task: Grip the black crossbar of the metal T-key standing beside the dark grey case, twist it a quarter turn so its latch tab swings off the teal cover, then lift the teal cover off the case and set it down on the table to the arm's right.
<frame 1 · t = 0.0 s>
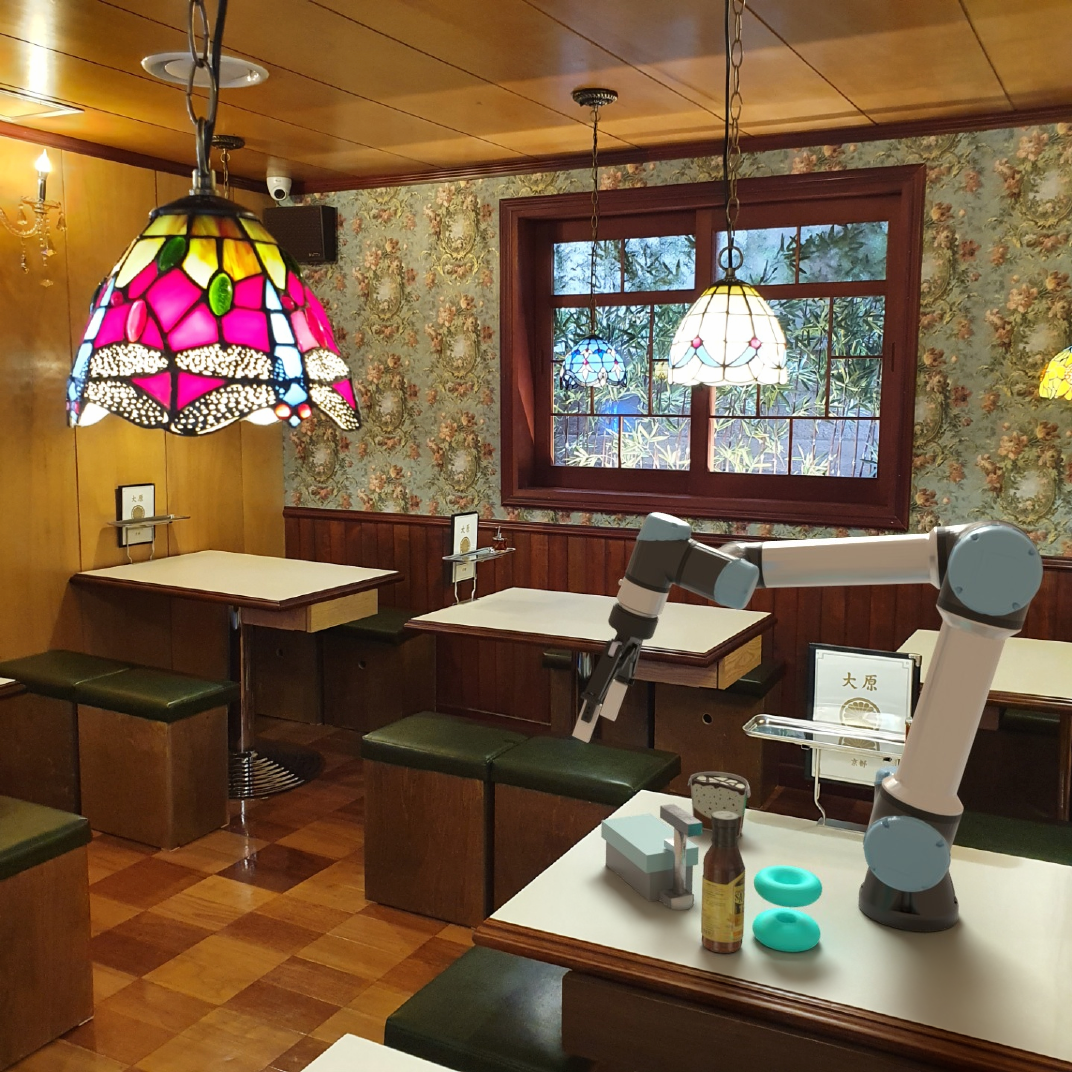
hand: (594, 727, 177), 28 cm above the table, tool tilted 20°, fingers open, 13 cm apart
cover: (648, 850, 185), point 5 cm above the table, touching case
food container: (722, 828, 210), on the table
case: (647, 878, 186), on the table
sauce bottle: (721, 946, 162), on the table
key: (679, 853, 175), point 8 cm above the table, hinge at 0.0°
donuts: (785, 940, 164), on the table
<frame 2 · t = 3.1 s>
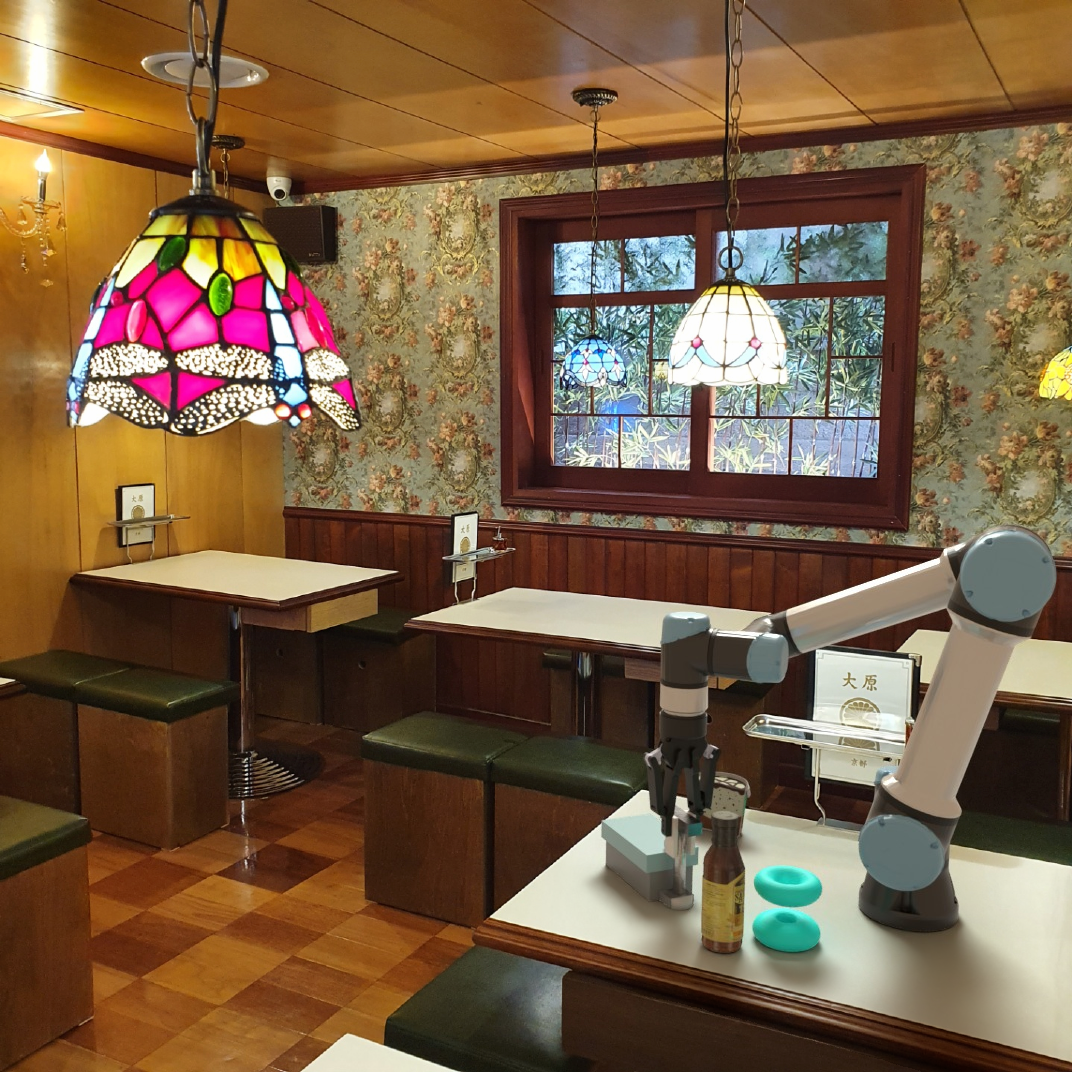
hand: (679, 853, 175), 9 cm above the table, tool pointing down, fingers closed on key, 2 cm apart
key: (679, 853, 175), point 8 cm above the table, hinge at 0.0°, touching gripper
everything else where it was.
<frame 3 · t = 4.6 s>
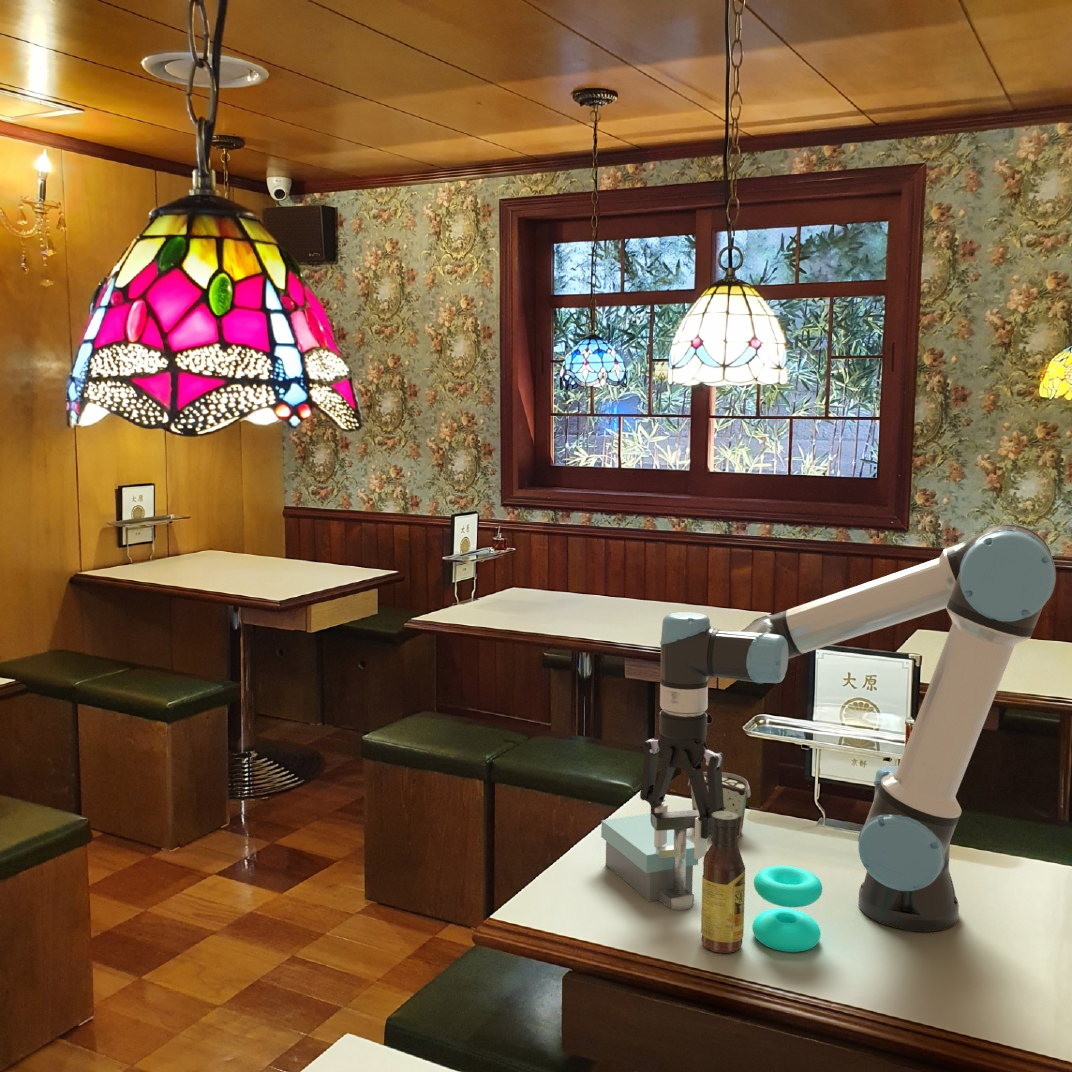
hand: (680, 850, 175), 9 cm above the table, tool pointing down, fingers open, 7 cm apart
key: (679, 853, 175), point 8 cm above the table, hinge at 80.4°
everything else where it was.
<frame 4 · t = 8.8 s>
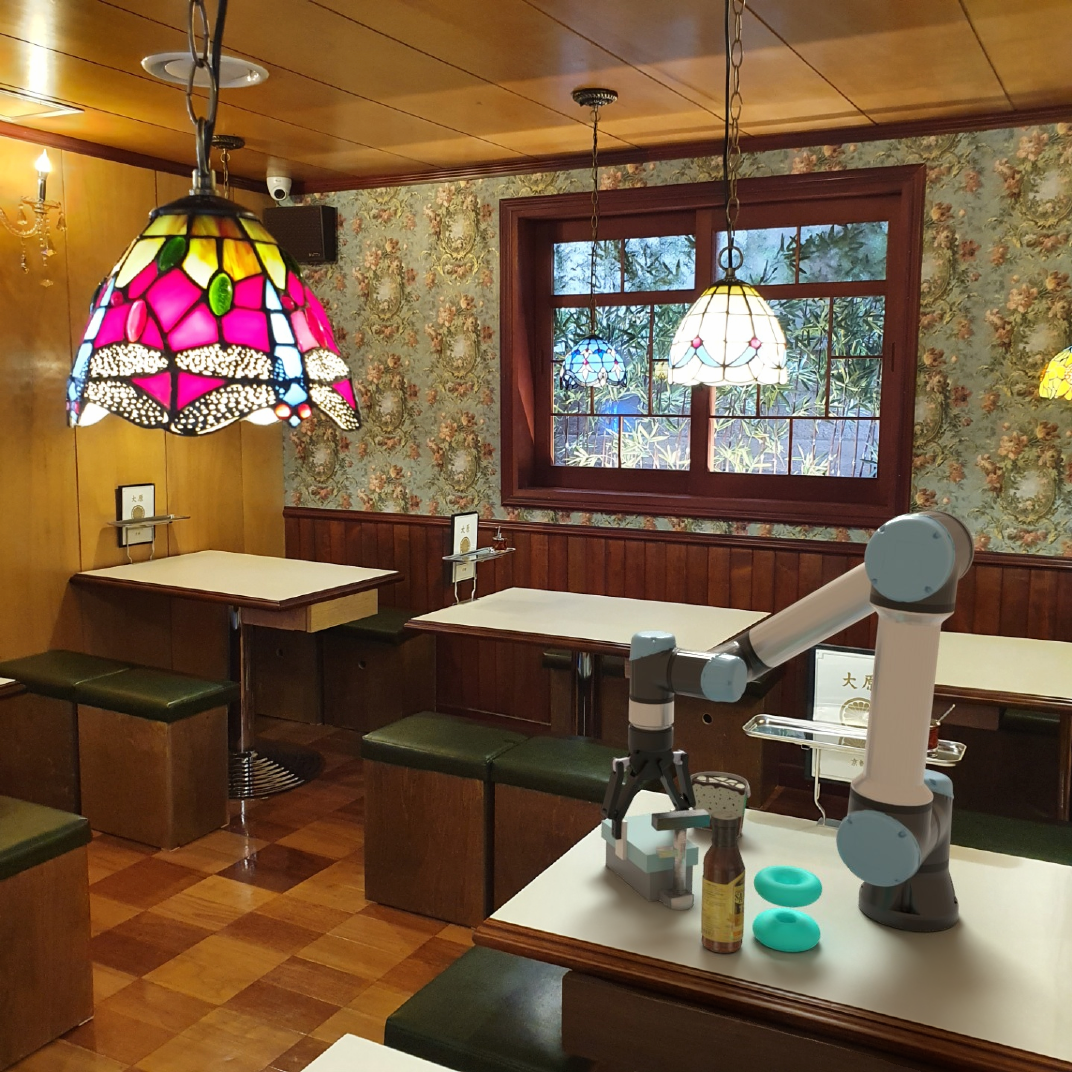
hand: (648, 852, 185), 5 cm above the table, tool pointing down, fingers closed on cover, 10 cm apart
cover: (648, 850, 185), point 5 cm above the table, touching case, gripper
key: (679, 853, 175), point 8 cm above the table, hinge at 82.3°
everything else where it was.
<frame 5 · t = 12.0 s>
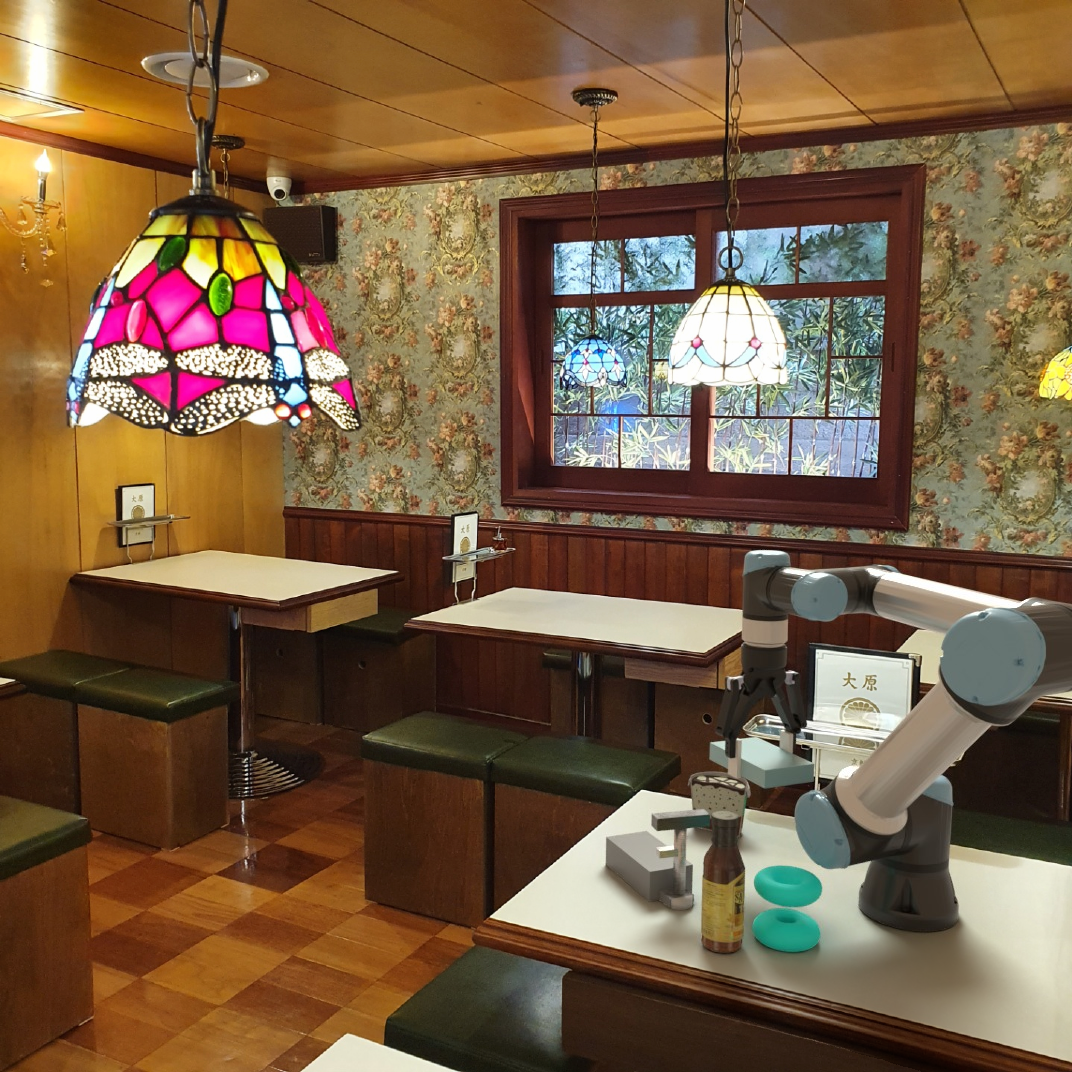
hand: (760, 772, 185), 18 cm above the table, tool pointing down, fingers closed on cover, 10 cm apart
cover: (760, 770, 185), point 19 cm above the table, touching gripper
everything else where it was.
when the fingers open (2 cm above the table, at t = 15.0 s): cover drops 3 cm, on the table.
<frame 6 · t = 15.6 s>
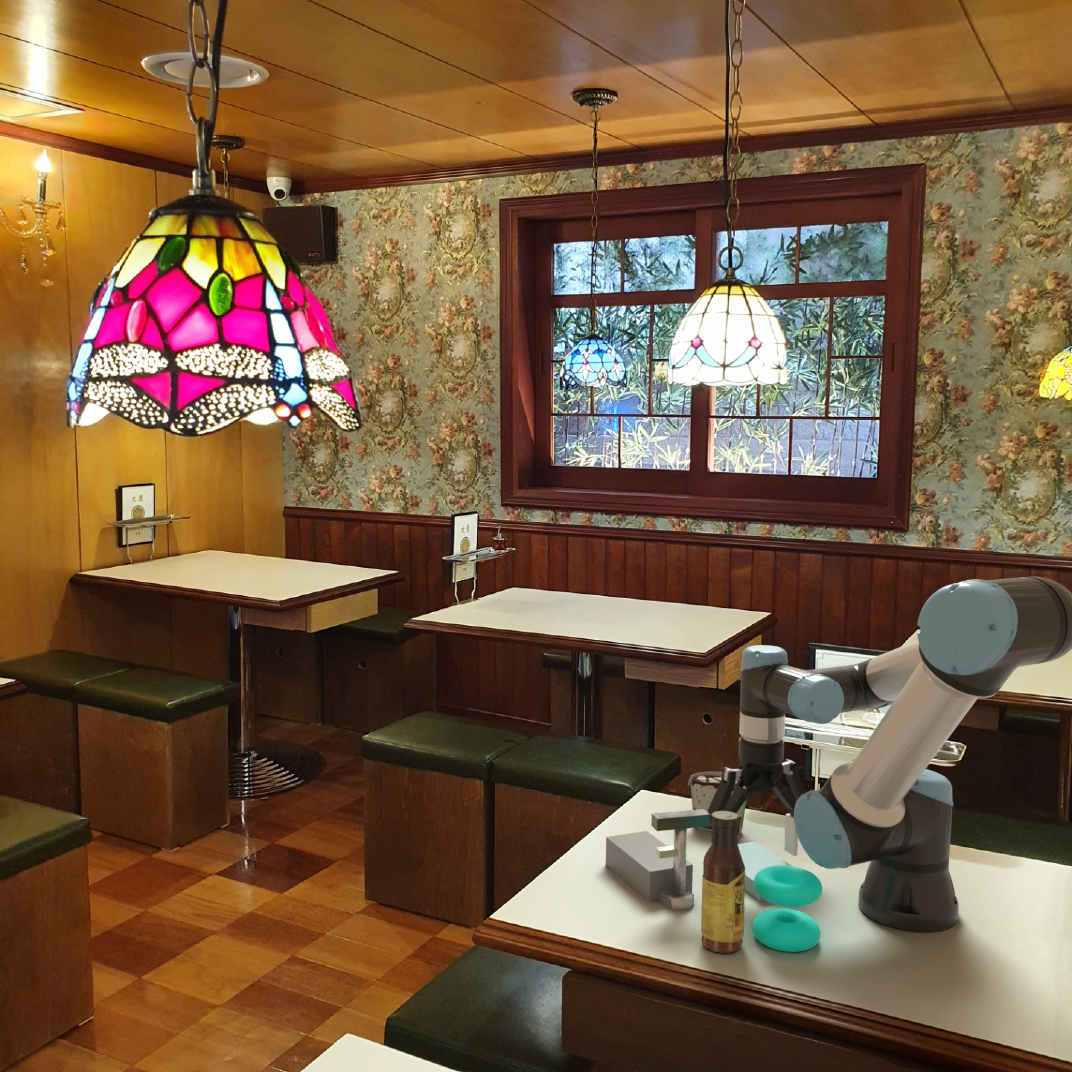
hand: (757, 858, 187), 3 cm above the table, tool pointing down, fingers open, 13 cm apart
cover: (756, 879, 187), on the table
everything else where it was.
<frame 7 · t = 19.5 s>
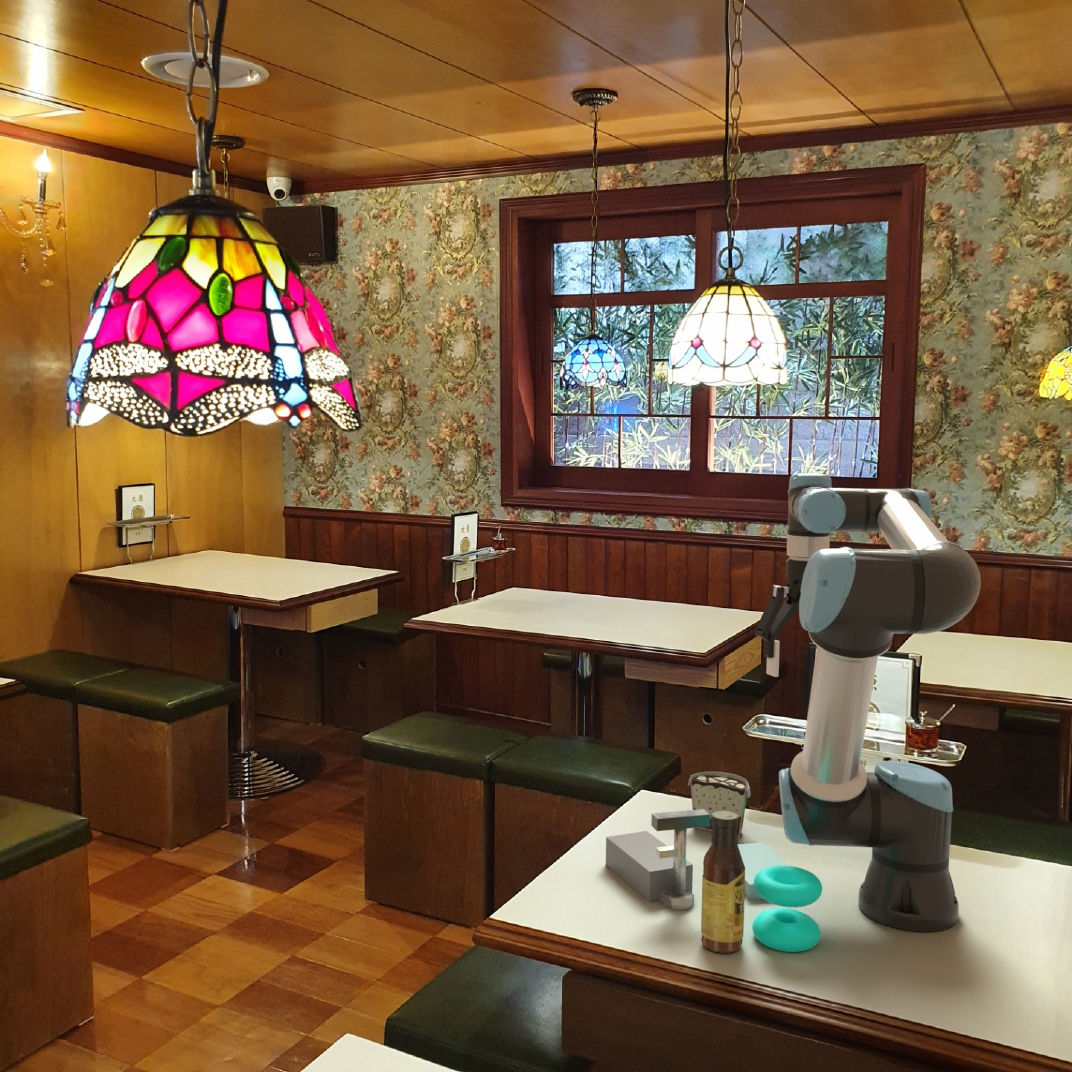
hand: (803, 672, 201), 32 cm above the table, tool pointing down, fingers open, 13 cm apart
at the end: key at +82° (first picture: +0°); cover inside the target area (0.0 cm from its centre), on the table; cover touching table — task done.
